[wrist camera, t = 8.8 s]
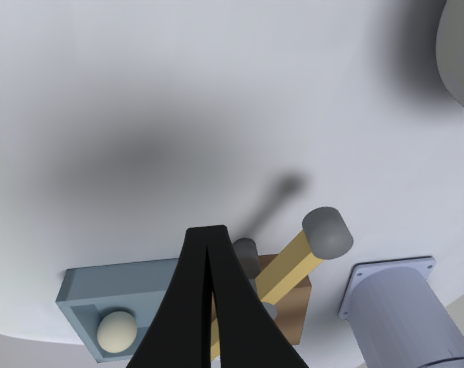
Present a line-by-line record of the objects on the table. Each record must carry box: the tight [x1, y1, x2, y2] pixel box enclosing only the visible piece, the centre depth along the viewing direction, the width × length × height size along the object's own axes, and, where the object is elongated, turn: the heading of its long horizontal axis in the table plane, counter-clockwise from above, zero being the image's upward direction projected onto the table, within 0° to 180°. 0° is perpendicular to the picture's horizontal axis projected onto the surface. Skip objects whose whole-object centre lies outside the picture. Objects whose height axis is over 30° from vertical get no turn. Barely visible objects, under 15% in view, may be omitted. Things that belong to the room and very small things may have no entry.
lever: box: [211, 207, 353, 361], centre depth 23 cm, size 20×3×2 cm, turn 149°
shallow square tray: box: [55, 258, 179, 363], centre depth 29 cm, size 11×11×3 cm
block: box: [212, 238, 312, 345], centre depth 28 cm, size 12×9×4 cm
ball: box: [97, 311, 137, 353], centre depth 29 cm, size 4×4×4 cm
